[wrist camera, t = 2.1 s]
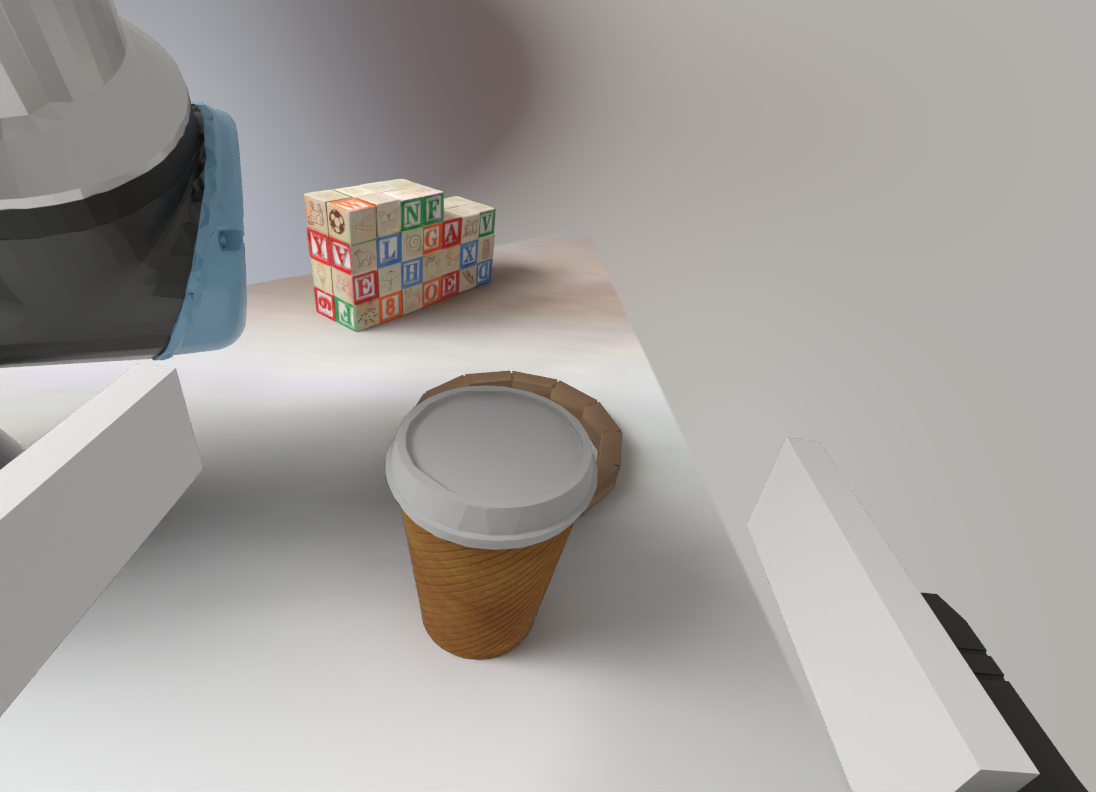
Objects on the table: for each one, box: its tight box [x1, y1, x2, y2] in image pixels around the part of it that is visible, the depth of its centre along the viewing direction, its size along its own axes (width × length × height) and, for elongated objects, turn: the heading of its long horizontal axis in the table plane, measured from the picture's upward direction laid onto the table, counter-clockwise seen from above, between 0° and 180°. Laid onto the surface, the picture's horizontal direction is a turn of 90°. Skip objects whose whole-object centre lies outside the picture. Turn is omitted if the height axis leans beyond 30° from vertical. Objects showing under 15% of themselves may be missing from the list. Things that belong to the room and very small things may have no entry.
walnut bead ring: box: [416, 371, 622, 515], centre depth 42 cm, size 16×16×2 cm
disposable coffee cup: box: [385, 385, 598, 659], centre depth 28 cm, size 10×10×12 cm
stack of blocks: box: [304, 179, 496, 332], centre depth 61 cm, size 21×6×12 cm, turn 146°
